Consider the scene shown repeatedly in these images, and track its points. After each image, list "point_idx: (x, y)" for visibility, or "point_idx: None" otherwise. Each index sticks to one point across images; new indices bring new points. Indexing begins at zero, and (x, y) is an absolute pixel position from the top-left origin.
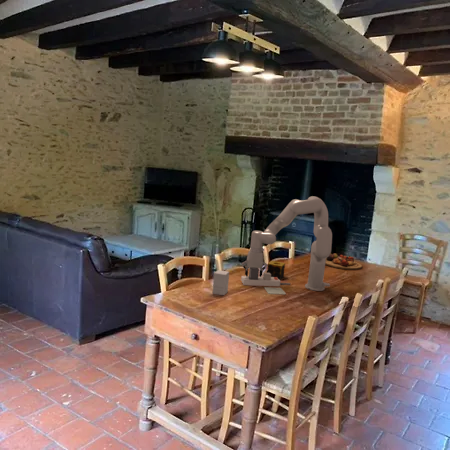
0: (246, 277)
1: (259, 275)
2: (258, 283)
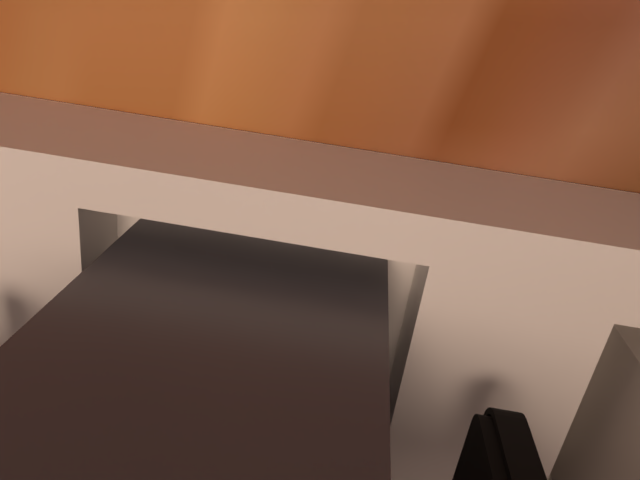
0: (23, 301)
1: (468, 456)
2: None
